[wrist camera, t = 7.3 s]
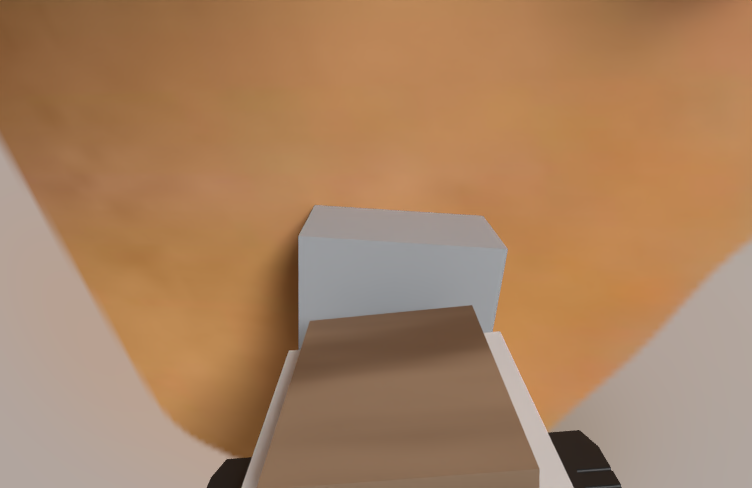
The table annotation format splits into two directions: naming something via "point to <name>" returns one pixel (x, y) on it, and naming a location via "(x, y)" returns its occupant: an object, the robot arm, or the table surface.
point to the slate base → (396, 264)
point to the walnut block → (398, 408)
